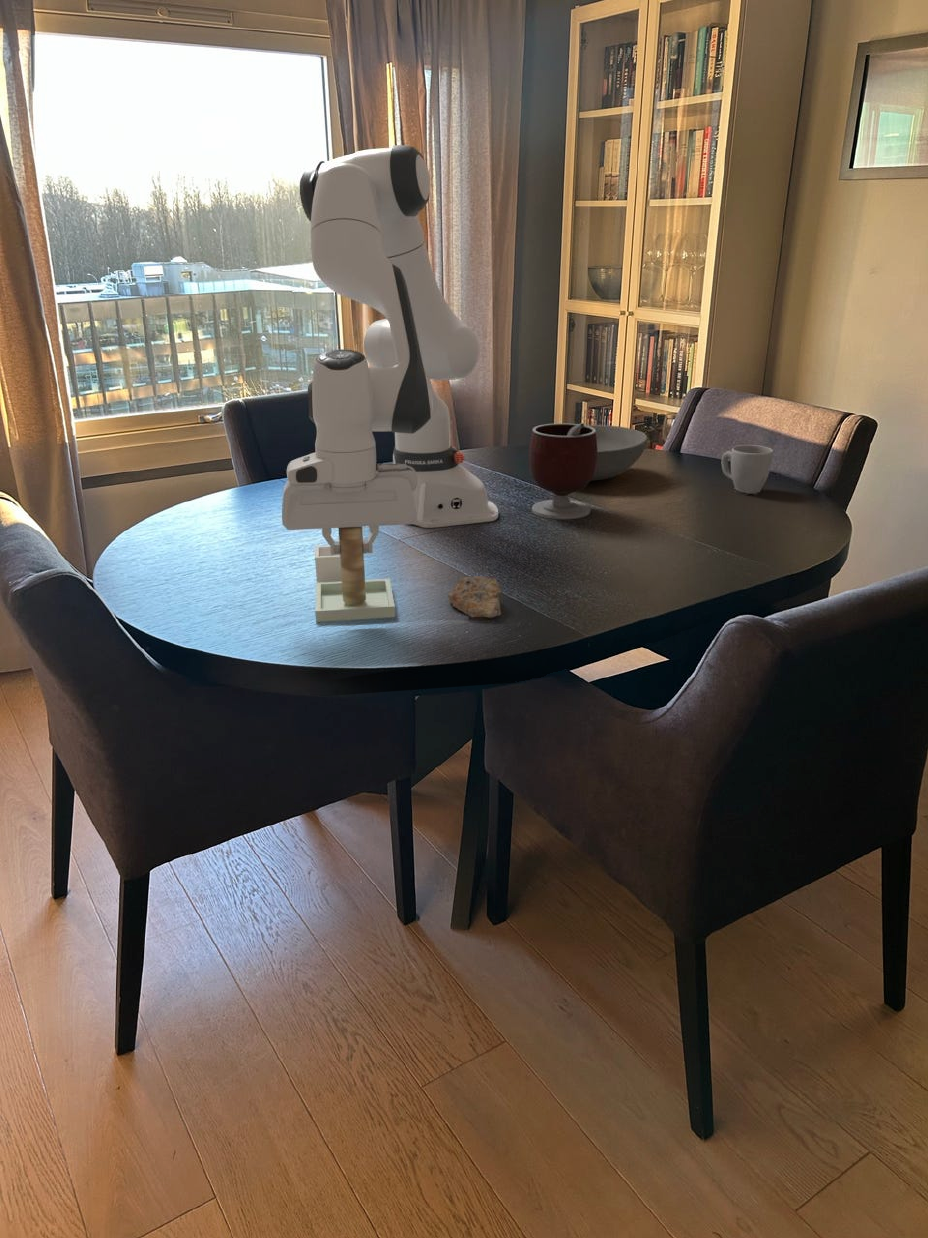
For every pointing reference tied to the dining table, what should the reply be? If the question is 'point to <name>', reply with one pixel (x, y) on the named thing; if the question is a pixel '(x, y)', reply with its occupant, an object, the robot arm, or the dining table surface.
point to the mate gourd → (562, 466)
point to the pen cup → (327, 565)
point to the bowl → (616, 449)
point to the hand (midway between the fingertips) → (351, 553)
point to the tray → (336, 609)
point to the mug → (748, 466)
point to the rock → (476, 596)
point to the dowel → (352, 564)
